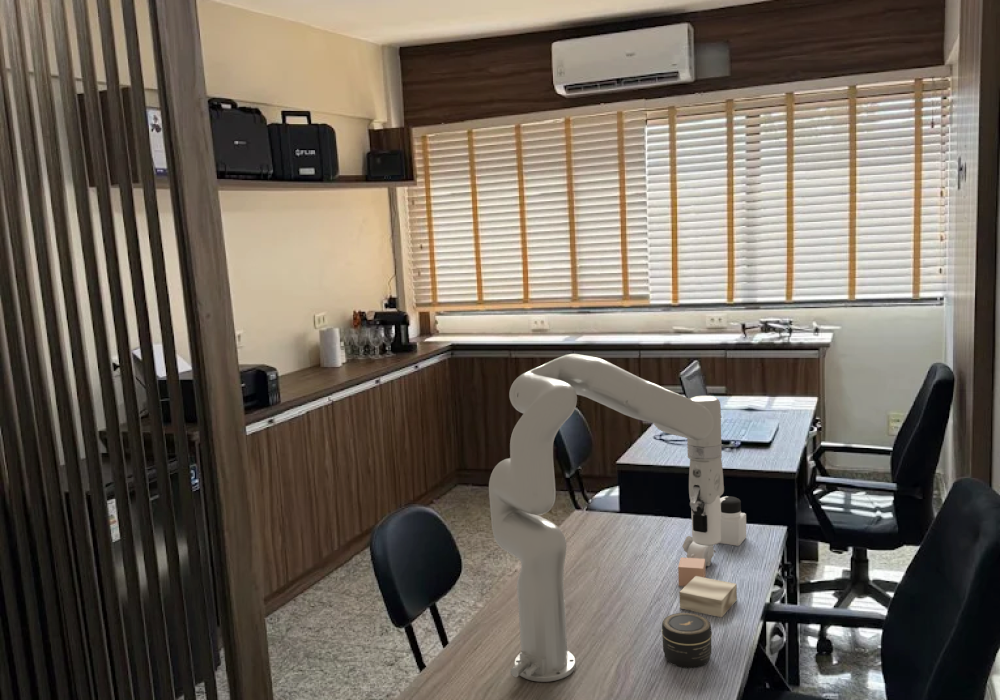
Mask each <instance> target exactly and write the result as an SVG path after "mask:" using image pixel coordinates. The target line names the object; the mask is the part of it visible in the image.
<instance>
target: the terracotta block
mask: <svg viewBox="0 0 1000 700" xmlns="http://www.w3.org/2000/svg"><path fill="white" fill-rule="evenodd" d="M677 568H678V569H677V570H678V571H677V573H678V574H677V575H678V576H677V577H678V587H685V586H686V585H687V584H688V583H689V582H690V581H691V580H692V579H693V578H694V577H695V576H699V577H704V578H707V577H706V576H707V575H706V574H707V573H706V568H705V559H698V558H687V557H680V559H679V563H678V566H677Z"/></svg>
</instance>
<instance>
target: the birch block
mask: <svg viewBox="0 0 1000 700" xmlns="http://www.w3.org/2000/svg"><path fill="white" fill-rule="evenodd" d="M737 587H738V586H737V583H735V582H734V583H733V582H729V581H725V580H718V579H715V578H708V577H706V578H704V577H699V576H695V577H694V578H693V579H692V580H691V581H690V582H689V583H688V584H687V585H686V586H683V588H682V589H681V590H680V591H679V609H682V610H686V611H691V612H696V613H700V614H705V615H707V616H708V615H709V616H714V617H718V618H723V617H724V616H725V614H726V613H727V612H728V611H729V610H730V608H731V607H732V606H734V603H736V601H738V592H737Z"/></svg>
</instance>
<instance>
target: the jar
mask: <svg viewBox="0 0 1000 700" xmlns="http://www.w3.org/2000/svg"><path fill="white" fill-rule="evenodd" d="M712 633H713V632H712V625H711V622H710V620H708V619H707V618H706V617H705V616H703V615H700V614H696V613H691V612H677V613H673V614H670V615H668V616H666V617H665V618H664V619H663V620H662V623H661V635H662V650H663V655H664V657H665V659H666V660H667V661H668V662H669V663H670V664H672V665H673V666H676V667H679V668H683V669H696V668H700V667H703V666H705V665H706V664H707V663H708V662H709V661H710V659H711V655H712V650H713V649H712V647H713V646H712V636H713V635H712Z"/></svg>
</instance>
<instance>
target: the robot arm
mask: <svg viewBox="0 0 1000 700" xmlns="http://www.w3.org/2000/svg"><path fill="white" fill-rule="evenodd" d="M577 395H578V396H581V397H585V398H588V399H590V400H592V401H594V402H597V403H599V404H600V405H603V406H605V407H607V408H609V409H612V410H614V411H616V412H618V413H620V414H622V415H625V416H627V417H630V418H633V419H636V420H639V421H644V422H647V423H653V425H654V426H655V428H657V430H659V431H661V432H663V433H666V434H668V435H673V436H678V437H681V438H685V439H687V458H688V459H689V474H688V494H689V500H690V502H689V506H690V508H692V513H691V516H692V515H693V530H694V531H698V532H704V533H706V532H707V515H705V514H706V506H707V504H711V503H713V502H714V501H715V499H716V497H717V495H719V496H720V497H722V495H723V494H724V492H725V486H724V473H723V472H724V471H723V470H724V469H723V462H722V414H721V413H722V411H721V410H722V407H721V402H720V399H718V398H717V397H715V396H711V395H696V396H693V397H689V398H688V397H686V396H684V395H681V394H679V393H677V392H674V391H672V390H669V389H667V388H665V387H663V386H660V385H659V384H656V383H654V382H651V381H649V380H646V379H644V378H642V377H639V376H638V375H635V374H633V373H631V372H629V371H627V370H625V369H624V368H621V367H619V366H617V365H615V364H613V363H611V362H610V361H608V360H605V359H603V358H600V357H597V356H596V357H595V356H592V355H584V354H578V353H570V354H569V353H568V354H565V355H562V356H559V357H557V358H554V359H552V360H550V361H548V362H545V363H543V364H542V365H540V366H537V367H534V368H531V369H530V370H527V371H526V372H523V373H521V374H520V375H519V376H518V377H516V379H515V380H514V381H513V383H512V384H511V386H510V389H509V395H508V397H509V400H510V403H511V406H512V407H513V408H514V409H515V410H516V411H518V412H519V413H521V414H522V415H521V416H520V418H519V419H518V421H517V422H516V424H515V425H514V428H513V430H512V433H511V437H510V440H509V442H510V443H509V455H510V456H509V458H505V459H503V460H501V461H499V462H498V463H497V464H496V465H495V466H494V468H493V470H492V472H491V474H490V477H489V481H488V496H489V508H490V519H491V520H490V521H491V529H492V534H493V538H494V540H495V542H496V544H497V546H498V547H499V548H501V549H502V550H503V551H505V552H506V553H508V554H510V555H512V557H513V556H514V557H515V558H516V559H518V560H520V565H521V567H520V571H519V572H518V573H519V574H518V576H517V581H516V582H517V583H516V589H517V590H516V592H517V593H516V594H517V605H518V620H519V622H518V624H519V639H520V652H519V654H517V656H516V657H515V659H514V663H513V664H514V665H513V667H512V668H510V674H511V676H512V677H514V678H518V677H519V676H520V677H522V678H523V679H526V680H529V681H534V682H539V683H540V682H541V683H545V682H546V683H547V682H548V683H550V682H556V681H558V680H562V679H564V678H566V677H568V676H570V675H571V674H572V673H573V672H574V670H575V669H576V658H575V656H574V654H573V653H571V652H570V651H569V650H568V641H567V640H568V637H567V621H566V620H567V618H566V599H565V585H564V583H565V579H564V578H565V577H564V576H565V573H564V571H565V561H566V554H567V540H566V536H565V534H564V533H563V531H562V529H561V528H560V527H559V526H558V525H557V524H555V523H554V522H553V521H550V519H547V518H545V517H542V516H541V515H545V514H547V513H548V512H550V511H551V509H552V508H553V507H554V505H555V501H556V478H555V467H554V466H555V464H554V443H555V442H554V441H555V438H556V436H557V434H558V432H559V430H560V429H561V427H562V426H563V425H564V424H565V423H566V421H567V420H568V419H569V418H570V417H571V416H572V414H573V413H574V412H575V409H576V406H577V404H578V402H577V401H578V396H577ZM699 498H700V499H703V501H704V502H702V501H698V500H699ZM698 504H703V505H702V509H701V507H700V506H698Z"/></svg>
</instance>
